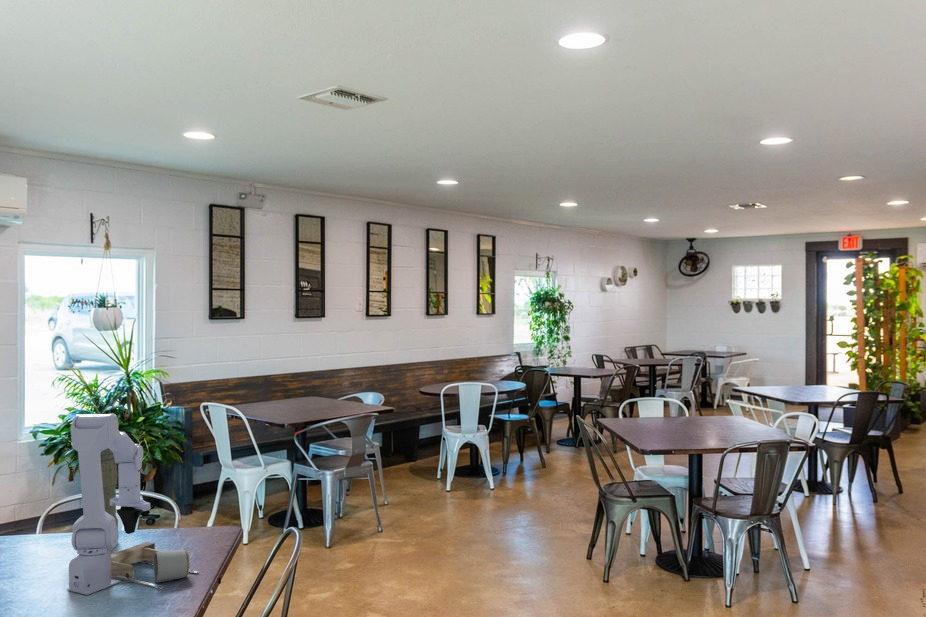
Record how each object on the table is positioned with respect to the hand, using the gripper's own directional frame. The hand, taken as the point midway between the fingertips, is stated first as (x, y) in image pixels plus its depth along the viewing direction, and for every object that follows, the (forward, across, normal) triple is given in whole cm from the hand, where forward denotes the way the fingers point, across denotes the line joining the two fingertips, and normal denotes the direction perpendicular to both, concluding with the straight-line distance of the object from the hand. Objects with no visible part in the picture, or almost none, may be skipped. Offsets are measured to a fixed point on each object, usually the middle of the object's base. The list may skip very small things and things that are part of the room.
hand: (130, 532), depth 218 cm
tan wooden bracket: (+6, -12, +7) cm, 15 cm away
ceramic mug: (+7, -24, +8) cm, 26 cm away
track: (+7, -17, +8) cm, 20 cm away
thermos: (+7, +17, -4) cm, 19 cm away
